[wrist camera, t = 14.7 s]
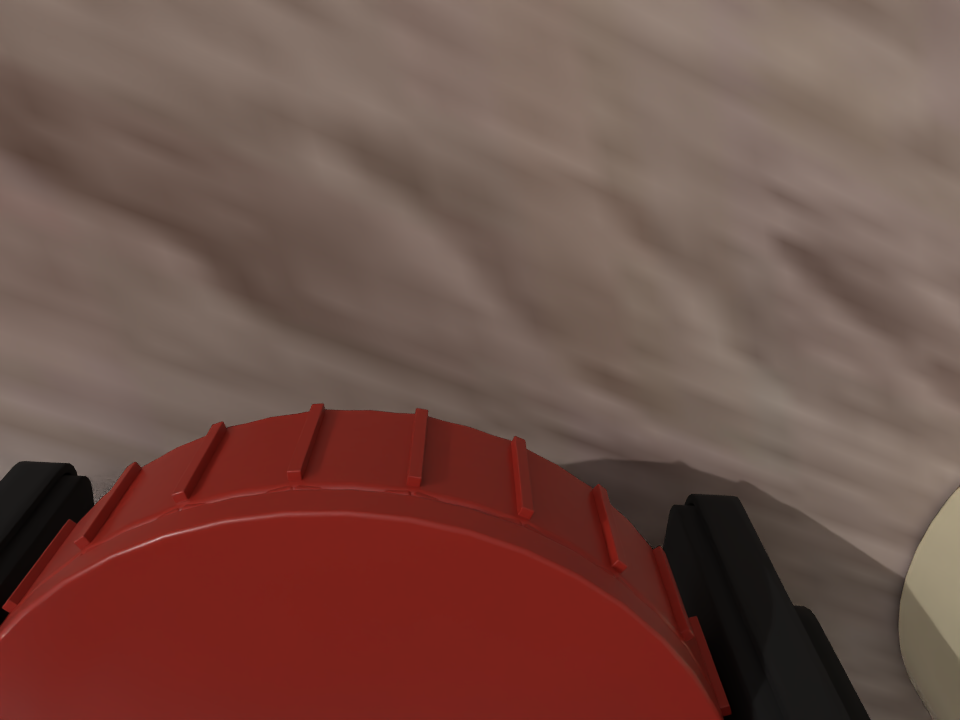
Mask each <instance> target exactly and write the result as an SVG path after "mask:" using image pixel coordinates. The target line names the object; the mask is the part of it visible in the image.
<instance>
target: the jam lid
mask: <svg viewBox="0 0 960 720" xmlns="http://www.w3.org/2000/svg"><path fill="white" fill-rule="evenodd" d="M2 608H3V609H4V610H6V611H7V612H9V614H8V616H7V617H6V619H5V620H4V621H3V623H2V624H1V625H0V720H724V718H723V716H727V715H731V714H732V712H731V708H730V705H729V702H728V700H727V697H726V694H725V692H724V689H723V686H722V683H721V681H720V678H719V675H718V672H717V670H716V667H715V664H714V662H713V659H712V656H711V653H710V651H709V648H708V645H707V642H706V640H705V637H704V634H703V632H702V629H701V626H700V623H699V621H698V618H697V616H694V617H690V618H688V616H687V613H686V610H685V608H684V605H683V602H682V599H681V596H680V593H679V591H678V588H677V585H676V582H675V579H674V576H673V573H672V571H671V568H670V565H669V562H668V559H667V556H666V554H665V552H664V550H663V549H662V548H661V546H658V547H657V548H655V549H652V548H651V547H650V546H649V544H648V543H647V542H646V541H645V540H644V538H643V537H642V536H641V535H640V534H639V532H638V531H637V530H636V529H635V528H634V526H633V525H632V524H631V523H630V522H629V520H627V519H626V518H625V517H624V516H623V515H622V514H621V513H620V512H619V511H617V510H616V509H615V508H614V507H613V506H612V505H611V504H610V501H609V497H608V494H607V490H606V489H605V488H603V487H602V486H601V485H600V484H597V485H596V486H595V487H594V488H593V489H592V487H590V486H589V485H587V484H585V483H584V482H582V481H580V480H579V479H577V478H576V477H574V476H573V475H571V474H570V473H569V472H567V471H566V470H564V469H563V468H561V467H560V466H558V465H556V464H554V463H552V462H550V461H548V460H546V459H545V458H543V457H541V456H539V455H537V454H535V453H533V452H531V451H529V450H528V449H526V442H525V440H524V439H521V438H519V437H517V436H515V437H514V438H513V440H512V441H510V440H507V439H504V438H500V437H497V436H493V435H490V434H488V433H485V432H482V431H479V430H476V429H474V428H471V427H468V426H463V425H459V424H455V423H450V422H446V421H442V420H439V419H436V418H432V417H429V416H428V410H425V409H419V408H417V409H416V412H415V414H407V413H392V412H383V411H373V410H327V409H325V407H324V404H312V406H311V409H310V411H309V412H304V413H299V414H291V415H284V416H276V417H270V418H266V419H262V420H258V421H254V422H250V423H246V424H241V425H236V426H231V427H227V428H226V426H225V424H224V422H219V423H216V424H213V425H212V426H211V428H210V430H209V432H208V433H207V435H206V436H205V437H202V438H200V439H197V440H195V441H192V442H190V443H187V444H185V445H182V446H180V447H177V448H176V449H174V450H172V451H170V452H168V453H167V454H165V455H163V456H161V457H160V458H158V459H156V460H154V461H152V462H151V463H149V464H147V465H145V466H144V467H142V468H141V467H140V466H139V465H138V463H137V462H134V463H132V464H131V465H129V466H128V467H127V468H126V469H125V471H124V472H123V474H122V475H121V476H120V478H119V479H118V481H117V482H116V483H115V485H114V486H113V488H112V489H111V490H110V492H108V493H107V494H106V495H104V496H103V497H102V498H101V499H100V500H99V501H98V502H97V503H96V504H95V505H94V506H93V507H92V509H91V510H90V511H89V512H88V513H87V514H86V515H85V516H84V517H83V518H82V519H81V520H80V521H79V522H78V523H75V522H73V521H72V520H70V519H69V520H68V521H67V522H66V523H65V525H64V526H63V527H62V528H61V530H60V531H59V532H58V534H57V535H56V536H55V538H54V539H53V540H52V542H51V543H50V544H49V546H48V547H47V548H46V550H45V551H44V552H43V554H42V555H41V556H40V558H39V559H38V560H37V562H36V563H35V564H34V565H33V567H32V568H31V569H30V571H29V572H28V573H27V575H26V576H25V577H24V579H23V580H22V581H21V583H20V584H19V585H18V587H17V588H16V589H15V591H14V592H13V593H12V595H11V596H10V597H9V599H8V600H7V601H6V603H5V604H4V605H3V607H2Z"/></svg>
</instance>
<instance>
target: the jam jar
mask: <svg viewBox="0 0 960 720" xmlns="http://www.w3.org/2000/svg"><path fill="white" fill-rule="evenodd" d="M898 629H899V639H900V649H901V654H902V657H903V661H904V664H905V668H906V671H907V674H908V676H909V678H910V680H911V682H912V684H913V686H914V688H915V690H916V692H917V694H918V696H919V697H920V699H921V700H922V702H923V704H924V705H925V707H926V709H927V710H928V712H929V713H930V715H931V717H932V718H933V720H960V486H959V487H958V488H957V489H956V490H955V492H954V493H953V494H952V495H951V496H950V497H949V498H948V500H947V501H946V503H945V504H944V505H943V507H942V508H941V509H940V511H939V512H938V514H937V515H936V516H935V518H934V519H933V520H932V522H931V523H930V525H929V527H928V529H927V530H926V532H925V534H924V536H923V538H922V540H921V541H920V543H919V545H918V547H917V549H916V551H915V553H914V556H913V558H912V561H911V564H910V566H909V569H908V571H907V574H906V577H905V581H904V586H903V590H902V594H901V599H900V608H899V623H898Z"/></svg>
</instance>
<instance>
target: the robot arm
mask: <svg viewBox="0 0 960 720" xmlns="http://www.w3.org/2000/svg"><path fill="white" fill-rule="evenodd" d="M93 506H94V499H93V491H92V486H91V482H90V480H89V478H87V477H86V476H77V472H76V470H75V468H74V466H73V465H71V464H70V463H50V462H30V461H22V462H19V463H17V464H16V465H15V466H14V467H13V468H12V469H11V470H10V471H9V472H8V473H7V474H6V476H5V477H4V478H3V479H2V480H1V481H0V625H1V624H2V623H3V621H4V620H5V619H6V617H7V616H8V614H9V612H7V611H6V610H4V609H3V608H2V607H3V605H4V604H5V603H6V601H7V600H8V599H9V597H10V596H11V595H12V593H13V592H14V591H15V589H16V588H17V587H18V585H19V584H20V583H21V581H22V580H23V579H24V577H25V576H26V575H27V573H28V572H29V571H30V569H31V568H32V567H33V565H34V564H35V563H36V562H37V560H38V559H39V558H40V556H41V555H42V554H43V552H44V551H45V550H46V548H47V547H48V546H49V544H50V543H51V542H52V540H53V539H54V538H55V536H56V535H57V534H58V532H59V531H60V530H61V528H62V527H63V526H64V525H65V523H66V522H67V521H68V520H69V519H70V520H72V521H73V522H75V523H78V522H79V521H80V520H81V519H82V518H83V517H84V516H85V515H86V514H87V513H88V512H89V511H90V510H91V509H92V507H93ZM663 550H664V552H665V554H666V556H667V559H668V562H669V565H670V568H671V571H672V573H673V576H674V579H675V582H676V585H677V588H678V591H679V593H680V596H681V599H682V602H683V605H684V608H685V610H686V613H687V616H688V618H690V617H694V616H697V618H698V621H699V623H700V626H701V629H702V632H703V634H704V637H705V640H706V642H707V645H708V648H709V651H710V653H711V656H712V659H713V662H714V664H715V667H716V670H717V672H718V675H719V678H720V681H721V683H722V686H723V689H724V692H725V694H726V697H727V700H728V702H729V705H730V708H731V712H732V714H731V715H727V716H723V718H724V720H871V719H870V718H869V716H868V714H867V712H866V710H865V708H864V706H863V704H862V703H861V701H860V699H859V697H858V695H857V693H856V691H855V689H854V688H853V686H852V684H851V682H850V680H849V678H848V676H847V674H846V672H845V671H844V669H843V667H842V665H841V663H840V661H839V659H838V657H837V656H836V654H835V652H834V650H833V648H832V646H831V644H830V642H829V641H828V639H827V637H826V635H825V633H824V631H823V629H822V627H821V625H820V624H819V622H818V620H817V618H816V617H815V615H814V614H813V613H812V611H811V610H810V609H808V608H806V607H804V606H793V604H792V602H791V600H790V598H789V597H788V595H787V593H786V591H785V589H784V587H783V585H782V583H781V581H780V579H779V577H778V575H777V573H776V571H775V569H774V567H773V565H772V563H771V561H770V559H769V557H768V555H767V553H766V551H765V549H764V547H763V545H762V543H761V541H760V539H759V537H758V535H757V533H756V531H755V529H754V527H753V525H752V523H751V521H750V519H749V517H748V515H747V513H746V511H745V510H744V508H743V506H742V504H741V502H740V500H739V499H738V498H737V497H735V496H722V495H702V494H690V495H689V496H688V498H687V500H686V502H685V505H673V506H672V508H671V510H670V514H669V519H668V524H667V530H666V536H665V541H664V547H663Z"/></svg>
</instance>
